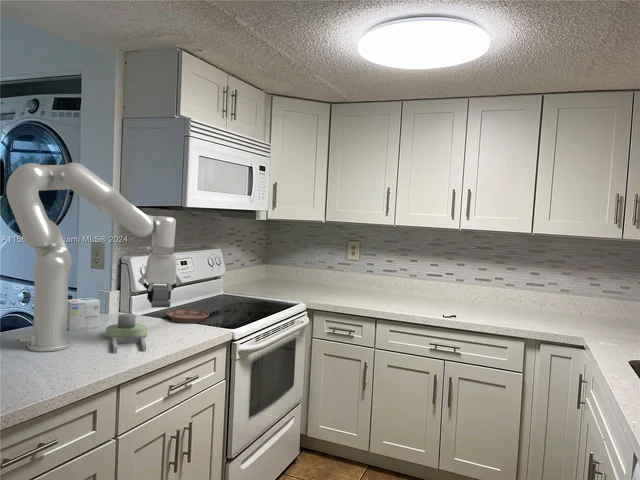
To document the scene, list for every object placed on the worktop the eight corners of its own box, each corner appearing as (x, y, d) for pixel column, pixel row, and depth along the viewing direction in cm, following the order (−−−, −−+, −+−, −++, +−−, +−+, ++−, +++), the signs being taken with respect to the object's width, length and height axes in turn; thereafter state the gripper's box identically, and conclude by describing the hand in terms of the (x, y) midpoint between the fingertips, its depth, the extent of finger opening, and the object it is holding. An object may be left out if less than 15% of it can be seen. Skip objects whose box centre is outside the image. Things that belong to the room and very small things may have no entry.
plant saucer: (196, 313, 215) (197, 307, 215) (216, 322, 202) (216, 315, 202) (159, 317, 203) (160, 310, 203) (177, 326, 190) (178, 319, 190)
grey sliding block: (151, 307, 159) (153, 290, 159) (148, 301, 168) (149, 285, 168) (170, 307, 162) (171, 290, 162) (165, 301, 171) (166, 285, 170)
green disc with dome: (106, 353, 151) (107, 332, 150) (105, 331, 175) (106, 313, 174) (152, 350, 157) (153, 330, 156) (144, 330, 181) (145, 312, 180)
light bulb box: (93, 323, 184) (94, 296, 184) (99, 327, 180) (100, 300, 179) (63, 327, 177) (64, 299, 176) (69, 331, 172) (70, 302, 171)
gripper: (138, 251, 158) (134, 304, 159) (189, 253, 165) (185, 304, 166) (135, 248, 164) (132, 299, 165) (185, 251, 172) (181, 299, 173)
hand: (158, 301), depth 166 cm, fingers closed on grey sliding block, 5 cm apart
